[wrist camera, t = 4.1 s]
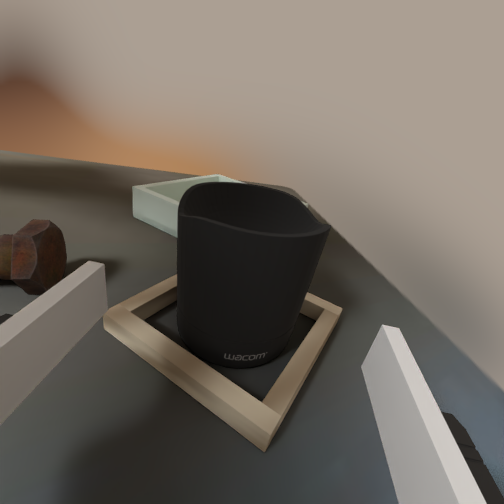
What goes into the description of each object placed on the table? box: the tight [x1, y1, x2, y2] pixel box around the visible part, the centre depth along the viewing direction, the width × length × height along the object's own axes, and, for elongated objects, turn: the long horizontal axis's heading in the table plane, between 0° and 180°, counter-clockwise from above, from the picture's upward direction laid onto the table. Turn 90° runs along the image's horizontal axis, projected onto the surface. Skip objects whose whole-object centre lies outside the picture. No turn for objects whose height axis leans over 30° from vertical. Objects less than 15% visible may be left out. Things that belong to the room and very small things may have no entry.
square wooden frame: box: [103, 274, 343, 453], centre depth 22 cm, size 13×13×2 cm
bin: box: [132, 174, 308, 238], centre depth 39 cm, size 17×17×4 cm
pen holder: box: [177, 182, 331, 368], centre depth 20 cm, size 9×9×10 cm
